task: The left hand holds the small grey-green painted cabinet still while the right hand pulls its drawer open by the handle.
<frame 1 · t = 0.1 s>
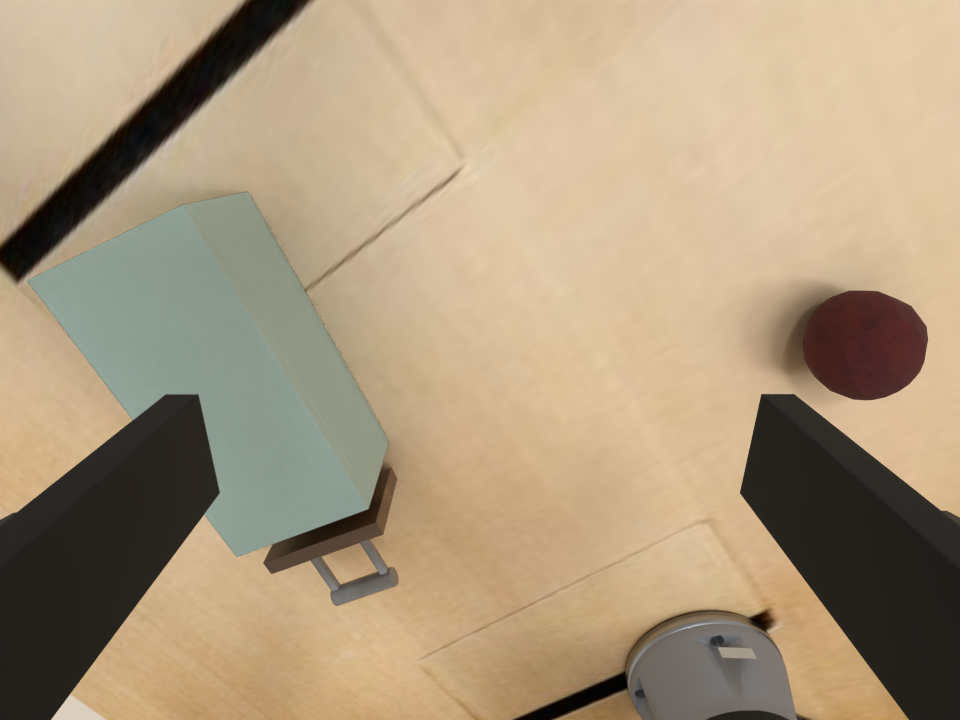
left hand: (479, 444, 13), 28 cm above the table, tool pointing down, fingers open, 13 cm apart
dark red ball: (830, 327, 41), on the table
drawer: (291, 450, 40), point 5 cm above the table, slide at 1.8 cm
cabinet: (266, 352, 42), on the table
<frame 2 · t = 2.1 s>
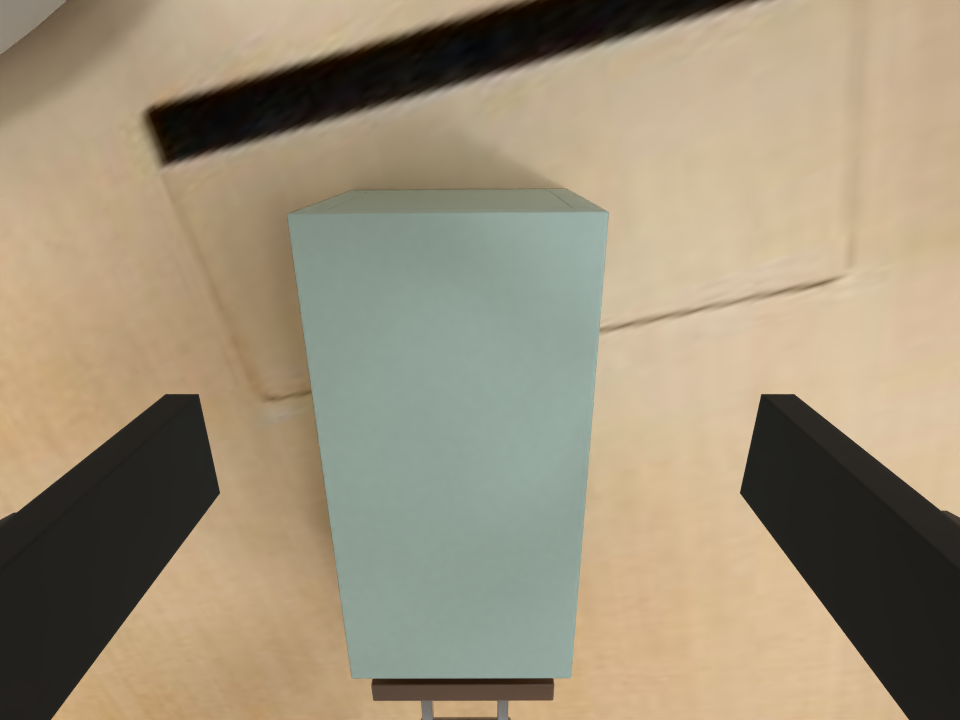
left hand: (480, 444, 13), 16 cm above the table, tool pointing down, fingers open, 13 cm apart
drawer: (462, 543, 28), point 5 cm above the table, slide at 1.8 cm
cabinet: (462, 392, 30), on the table
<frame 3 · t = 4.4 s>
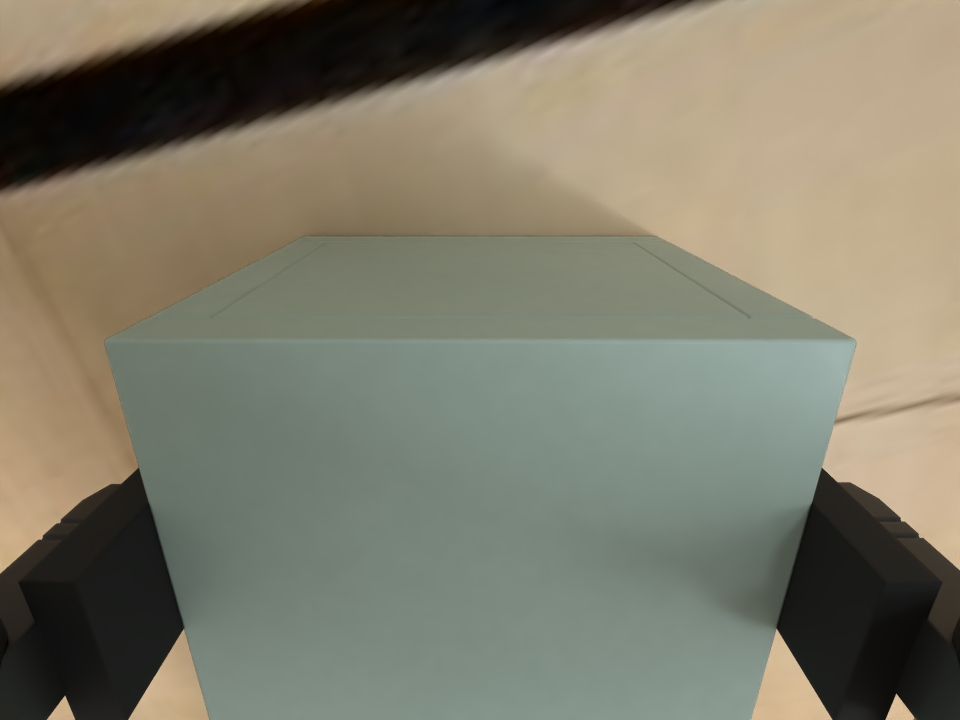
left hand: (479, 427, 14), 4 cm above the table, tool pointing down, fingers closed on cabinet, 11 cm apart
cabinet: (480, 532, 20), on the table, touching left hand
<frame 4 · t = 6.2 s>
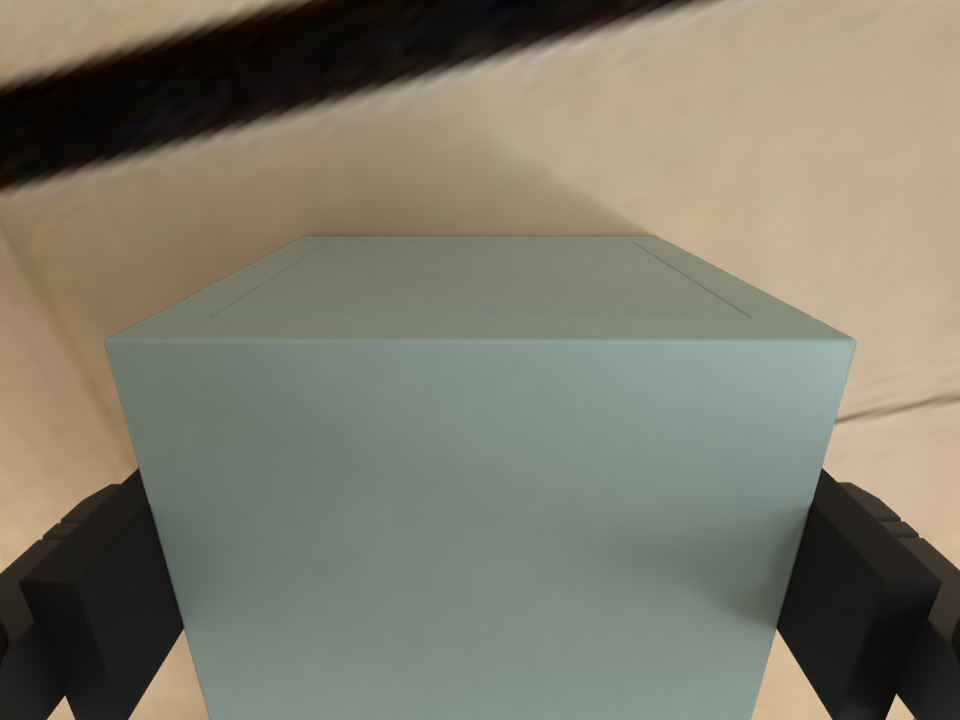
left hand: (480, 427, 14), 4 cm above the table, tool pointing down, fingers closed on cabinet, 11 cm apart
cabinet: (480, 531, 20), on the table, touching left hand
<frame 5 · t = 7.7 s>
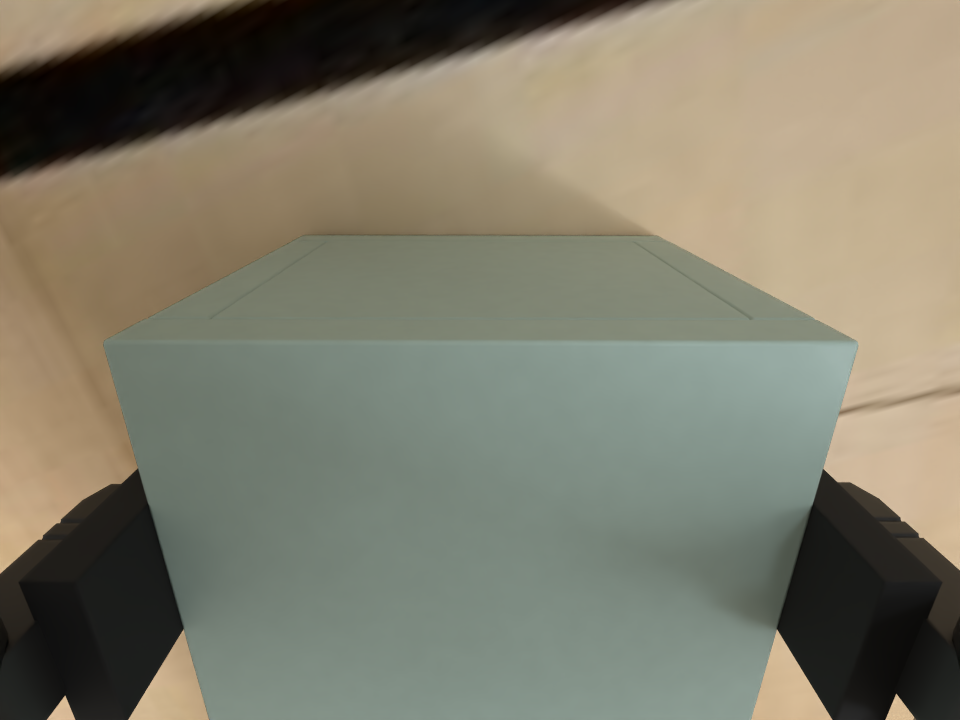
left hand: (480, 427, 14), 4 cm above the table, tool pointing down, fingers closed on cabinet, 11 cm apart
cabinet: (479, 531, 20), on the table, touching left hand
when the left hand's fingers open (4 cm above the table, at t = 9.6 s): cabinet stays where it is, on the table.
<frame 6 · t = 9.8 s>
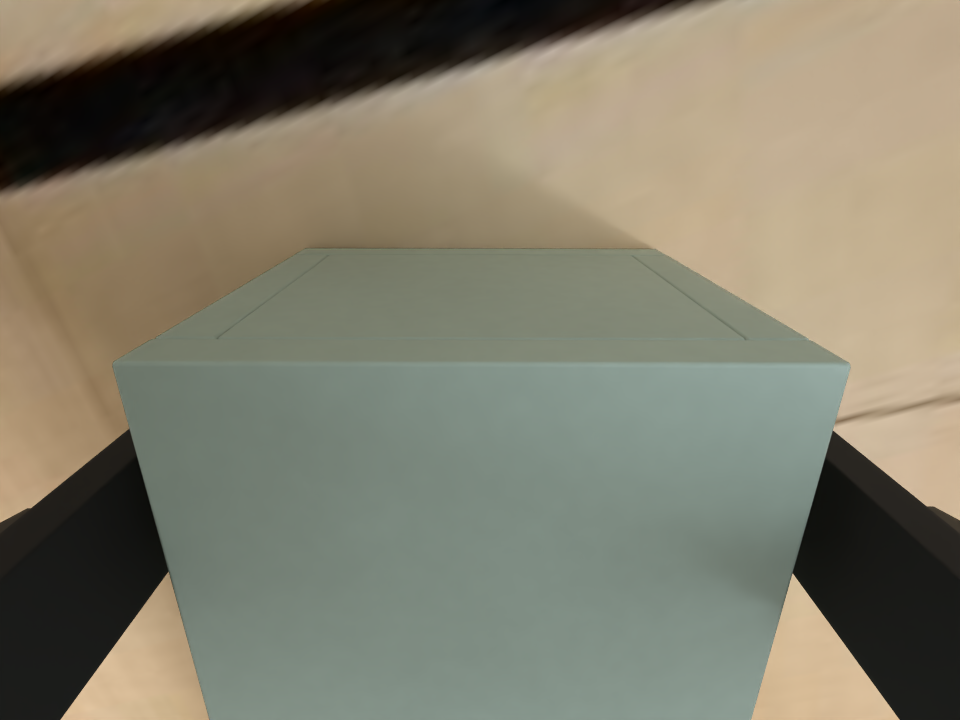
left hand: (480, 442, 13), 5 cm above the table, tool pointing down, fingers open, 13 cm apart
cabinet: (479, 540, 20), on the table
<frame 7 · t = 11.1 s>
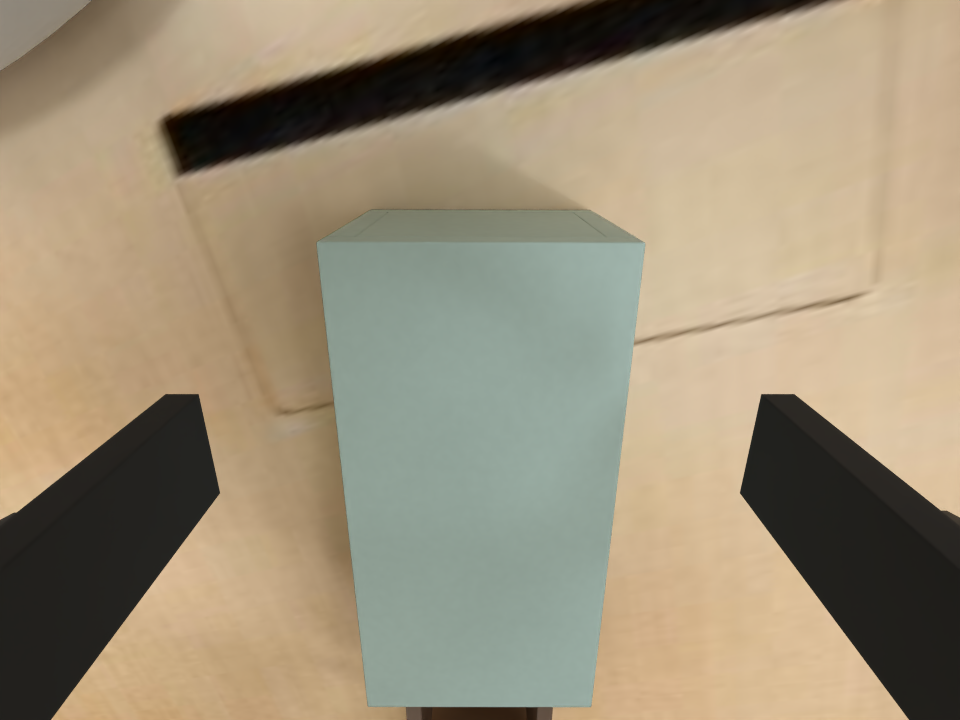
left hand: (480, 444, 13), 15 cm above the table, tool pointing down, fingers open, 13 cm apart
drawer: (479, 678, 31), point 5 cm above the table, slide at 10.1 cm
cabinet: (480, 412, 30), on the table
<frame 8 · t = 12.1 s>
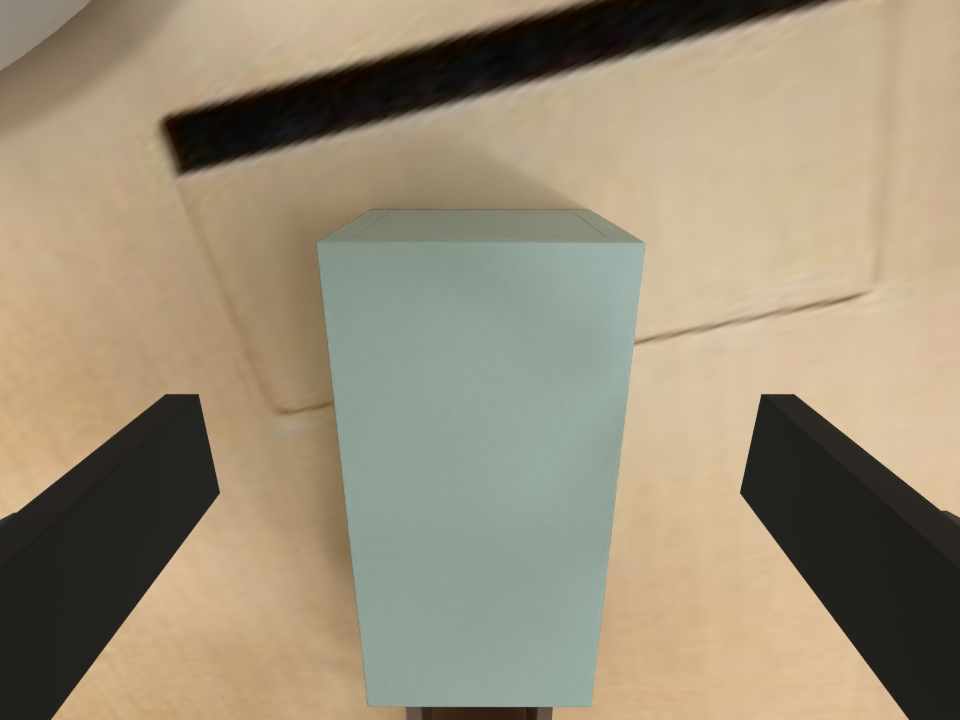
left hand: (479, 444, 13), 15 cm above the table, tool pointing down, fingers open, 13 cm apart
drawer: (479, 678, 31), point 5 cm above the table, slide at 10.1 cm
cabinet: (480, 412, 30), on the table
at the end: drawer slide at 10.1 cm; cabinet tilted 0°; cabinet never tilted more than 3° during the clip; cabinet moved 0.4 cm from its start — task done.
